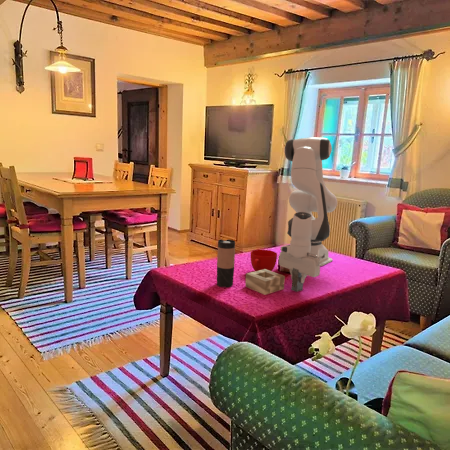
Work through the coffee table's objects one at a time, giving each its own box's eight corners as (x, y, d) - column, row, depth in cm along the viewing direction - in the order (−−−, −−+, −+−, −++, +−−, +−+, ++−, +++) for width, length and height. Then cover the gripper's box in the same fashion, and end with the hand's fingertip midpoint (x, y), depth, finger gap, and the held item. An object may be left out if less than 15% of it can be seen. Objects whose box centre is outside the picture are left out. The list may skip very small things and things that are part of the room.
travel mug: (227, 288, 174) (229, 244, 170) (212, 285, 178) (214, 241, 174) (236, 284, 180) (238, 240, 176) (222, 280, 184) (223, 238, 180)
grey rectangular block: (297, 288, 179) (298, 266, 177) (302, 290, 176) (304, 268, 174) (291, 289, 176) (292, 268, 174) (296, 291, 174) (298, 269, 172)
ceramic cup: (241, 275, 192) (242, 255, 190) (255, 267, 207) (256, 248, 205) (266, 280, 186) (268, 260, 184) (279, 271, 201) (280, 252, 199)
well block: (264, 281, 186) (265, 269, 184) (283, 289, 177) (284, 276, 175) (245, 286, 178) (246, 273, 177) (264, 294, 169) (265, 281, 168)
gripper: (324, 255, 167) (321, 286, 170) (287, 244, 182) (285, 273, 185) (315, 257, 163) (312, 289, 166) (277, 246, 178) (275, 276, 181)
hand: (297, 281), depth 175 cm, fingers closed on grey rectangular block, 3 cm apart
